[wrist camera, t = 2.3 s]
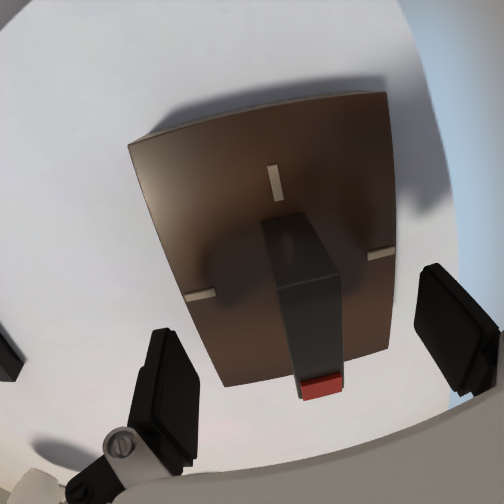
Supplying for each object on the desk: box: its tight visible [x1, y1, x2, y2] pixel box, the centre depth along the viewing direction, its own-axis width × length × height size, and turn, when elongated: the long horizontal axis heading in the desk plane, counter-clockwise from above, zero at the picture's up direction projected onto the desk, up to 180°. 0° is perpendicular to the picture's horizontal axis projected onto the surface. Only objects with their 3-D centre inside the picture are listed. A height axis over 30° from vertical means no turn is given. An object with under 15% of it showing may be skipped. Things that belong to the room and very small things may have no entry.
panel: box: [127, 90, 396, 387], centre depth 15 cm, size 14×10×3 cm
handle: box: [260, 213, 344, 401], centre depth 11 cm, size 6×2×5 cm, turn 12°
